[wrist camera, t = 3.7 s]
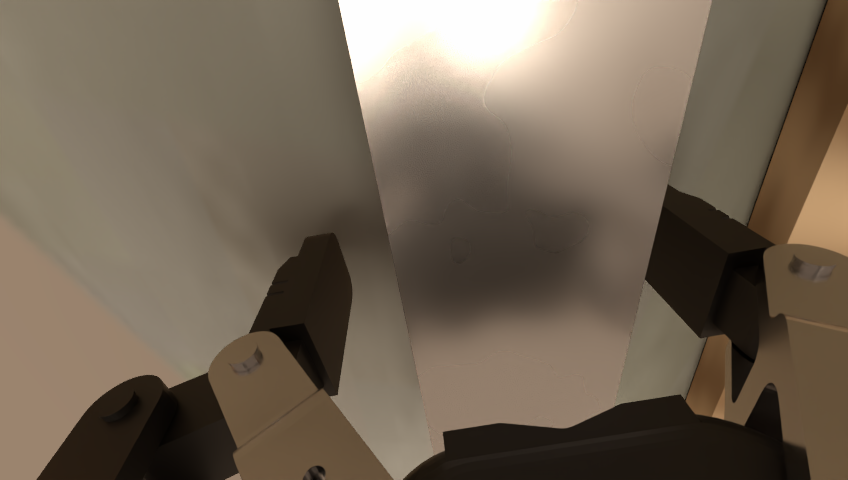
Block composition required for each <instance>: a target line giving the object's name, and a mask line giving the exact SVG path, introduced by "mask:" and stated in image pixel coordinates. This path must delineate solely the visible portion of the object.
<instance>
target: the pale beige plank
mask: <svg viewBox="0 0 848 480" xmlns="http://www.w3.org/2000/svg"><path fill="white" fill-rule="evenodd" d="M338 1H339V6H340V10H341V15H342V20H343V24H344V29H345V34H346V39H347V43H348V48H349V53H350V58H351V62H352V67H353V72H354V77H355V81H356V86H357V91H358V96H359V100H360V105H361V110H362V115H363V119H364V124H365V129H366V134H367V138H368V143H369V148H370V153H371V157H372V162H373V167H374V172H375V176H376V181H377V186H378V191H379V195H380V200H381V205H382V209H383V214H384V219H385V224H386V228H387V233H388V238H389V243H390V247H391V252H392V257H393V262H394V266H395V271H396V276H397V281H398V285H399V290H400V295H401V300H402V304H403V309H404V314H405V319H406V323H407V328H408V333H409V338H410V342H411V347H412V352H413V357H414V361H415V366H416V371H417V376H418V380H419V385H420V390H421V395H422V399H423V404H424V409H425V413H426V418H427V423H428V428H429V432H430V437H431V442H432V447H433V451H434V455H436V454H438V453H440V452H442V451H444V450H445V449H444V440H443V432H444V431H450V430H457V429H463V428H470V427H476V426H482V425H489V424H495V423H509V424H519V425H530V426H541V427H552V428H569V427H572V426H574V425H576V424H578V423H581V422H583V421H585V420H587V419H589V418H591V417H594V416H596V415H598V414H600V413H602V412H604V411H607V410H609V409H611V408H613V407H614V404H615V400H616V396H617V392H618V387H619V383H620V379H621V375H622V371H623V367H624V363H625V358H626V354H627V350H628V346H629V342H630V338H631V334H632V329H633V325H634V321H635V317H636V313H637V309H638V305H639V300H640V296H641V292H642V288H643V284H644V280H645V276H646V272H647V267H648V263H649V259H650V255H651V251H652V247H653V243H654V238H655V234H656V230H657V226H658V222H659V218H660V214H661V209H662V205H663V201H664V197H665V193H666V189H667V185H668V180H669V176H670V172H671V168H672V164H673V160H674V156H675V152H676V147H677V143H678V139H679V135H680V131H681V127H682V123H683V118H684V114H685V110H686V106H687V102H688V98H689V94H690V89H691V85H692V81H693V77H694V73H695V69H696V65H697V60H698V56H699V52H700V48H701V44H702V40H703V36H704V32H705V27H706V23H707V19H708V15H709V11H710V7H711V3H712V0H338Z"/></svg>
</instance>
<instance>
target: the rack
mask: <svg viewBox="0 0 848 480" xmlns="http://www.w3.org/2000/svg"><path fill="white" fill-rule="evenodd" d="M747 228H749V229H751V230H752V231H754V232H756V233H757V234H759V235H761V236H762V237H764V238H765V239H767V240H769V241H770V242H772V243H774V244H775V245H780V244H805V245H812V246H817V247H821V248H825V249H828V250H832V251H835V252H837V253H840V254H842V255H844V256H847V257H848V0H828V2H827V5H826V8H825V11H824V13H823V16H822V19H821V22H820V25H819V27H818V30H817V33H816V36H815V39H814V41H813V44H812V47H811V50H810V53H809V55H808V58H807V61H806V64H805V67H804V70H803V72H802V75H801V78H800V81H799V84H798V86H797V89H796V92H795V95H794V98H793V100H792V103H791V106H790V109H789V112H788V115H787V117H786V120H785V123H784V126H783V129H782V131H781V134H780V137H779V140H778V143H777V145H776V148H775V151H774V154H773V157H772V159H771V162H770V165H769V168H768V171H767V174H766V176H765V179H764V182H763V185H762V188H761V190H760V193H759V196H758V199H757V202H756V204H755V207H754V210H753V213H752V216H751V218H750V221H749V224H748V227H747ZM728 341H729V338H728V337H727V336H726V335H725V334H723V335H717V336H711V337H708V339H707V342H706V345H705V348H704V351H703V353H702V356H701V359H700V362H699V365H698V367H697V370H696V373H695V376H694V379H693V381H692V384H691V387H690V390H689V393H688V396H687V398H686V403H687V404H688V405H689V407H690V408H691V409H692V411H693V412H694V413H695V414H699V415H705V416H710V417H716V418H720V419H723V420H724V412H725V350H726V346H727V344H728Z"/></svg>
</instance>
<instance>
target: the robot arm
mask: <svg viewBox="0 0 848 480" xmlns="http://www.w3.org/2000/svg"><path fill="white" fill-rule="evenodd" d="M645 280H646V281H647V282H648V283H649V284H650V285H651V286H652V287H653V288H654V289H655V290H656V292H657V293H658V294H659V295H660V296H661V297H662V298H663V299H664V300H665V301H666V302H667V303H668V304H669V305H670V307H671V308H672V309H673V310H674V311H675V312H676V313H677V314H678V315H679V316H680V317H681V318H682V319H683V320H684V322H685V323H686V324H687V325H688V326H689V327H690V328H691V329H692V330H693V331H694V332H695V333H696V334H697V336H698V337H699V338H704V337H711V336H717V335H723V334H725V335H726V336H727V337H728V338H729V341H728V344H727V346H726V350H725V412H724V420H723V419H720V418H716V417H710V416H705V415H699V414H695V413H694V412H693V411H692V409H691V408H690V407H689V405H688V404H687V403H686V401H685V400H684V399H683V397H682V396H681V395H674V396H668V397H661V398H655V399H649V400H642V401H636V402H629V403H623V404H620V405H617V406H615V407H613V408H611V409H609V410H607V411H604V412H602V413H600V414H598V415H596V416H594V417H591V418H589V419H587V420H585V421H583V422H581V423H578V424H576V425H574V426H572V427H569V428H552V427H541V426H530V425H519V424H509V423H495V424H489V425H482V426H476V427H470V428H463V429H457V430H450V431H444V432H443V440H444V449H445V450H444V451H442V452H440V453H438V454H436V455H434V456H432V457H431V458H429V459H427V460H426V461H424V462H423V463H421V464H420V465H419V466H417V467H416V468H415V469H414V470H413V471H411V472H410V473H409V474H408V475H407V476H406V477H405V478H404V479H403V480H848V257H847V256H844V255H842V254H840V253H837V252H835V251H832V250H828V249H825V248H821V247H817V246H812V245H805V244H780V245H775V244H774V243H772V242H770V241H769V240H767V239H765V238H764V237H762V236H761V235H759V234H757V233H756V232H754V231H752V230H751V229H749V228H747V227H746V226H744V225H743V224H741V223H739V222H738V221H736V220H734V219H733V218H732V219H730V218H729V216H728V215H726V214H725V213H723V212H721V211H720V210H716V208H715V207H713V206H712V205H710V204H708V203H707V202H705V201H703V200H702V199H700V198H698V197H694V196H691V195H688V194H685V193H682V192H679V191H678V190H676V189H674V188H673V187H671V186H670V185H667V189H666V193H665V197H664V201H663V205H662V209H661V214H660V218H659V222H658V226H657V230H656V234H655V238H654V243H653V247H652V251H651V255H650V259H649V263H648V267H647V272H646V276H645ZM351 303H352V284H351V279H350V275H349V272H348V269H347V266H346V263H345V260H344V257H343V255H342V252H341V249H340V246H339V243H338V240H337V238H336V236H335V234H334V233H327V234H321V235H316V236H310V237H306V238H305V240H304V242H303V245H302V247H301V250H300V252H299V255H298V256H296V257H290V258H289V259H288V260H287V261H286V262H285V263H284V264H283V265H282V266H281V267H280V268H279V269H278V271H277V273H276V275H275V277H274V280H273V282H272V285H271V286H270V288H269V291H268V293H267V297H265V299H264V302H263V304H262V306H261V308H260V310H259V312H258V315H257V317H256V319H255V321H254V323H253V326H252V328H251V330H250V332H249V334H247V335H244V336H242V337H240V338H238V339H236V340H234V341H233V342H231V343H230V344H228V345H227V346H226V347H225V348H223V349H222V350H221V351H220V352H219V353H218V355H217V356H216V357H215V358H214V360H213V361H212V363H211V365H210V367H209V371H208V373H206V374H203V375H201V376H198V377H196V378H193V379H191V380H189V381H186V382H184V383H181V384H179V385H176V386H174V387H172V388H169V389H168V387H167V386H166V385H165V384H164V383H163V381H162V380H161V379H160V378H159V377H157V376H154V375H144V376H139V377H135V378H132V379H130V380H127V381H125V382H123V383H121V384H119V385H117V386H116V387H114V388H112V389H111V390H109V391H108V392H106V393H105V394H104V395H103V396H101V397H100V398H99V399H98V400H97V401H95V402H94V403H93V404H92V406H90V407H89V408H88V410H87V411H86V412H85V413H84V415H83V416H82V417H81V419H80V420H79V421H78V423H77V424H76V426H75V427H74V428H73V430H72V431H71V433H70V434H69V435H68V437H67V438H66V439H65V441H64V442H63V444H62V445H61V446H60V448H59V449H58V451H57V452H56V453H55V455H54V456H53V458H52V459H51V460H50V462H49V463H48V464H47V466H46V467H45V469H44V470H43V471H42V473H41V474H40V476H39V477H38V478H37V480H225V479H227V478H229V477H231V476H233V475H235V474H237V473H239V474H240V476H241V479H242V480H393V478H392V477H391V476H390V474H389V473H388V472H387V470H386V469H385V468H384V467H383V465H382V464H381V463H380V461H379V460H378V459H377V458H376V456H375V455H374V454H373V452H372V451H371V450H370V448H369V447H368V446H367V445H366V443H365V442H364V441H363V439H362V438H361V437H360V435H359V434H358V433H357V432H356V430H355V429H354V428H353V426H352V425H351V424H350V423H349V421H348V420H347V419H346V417H345V416H344V415H343V413H342V412H341V411H340V410H339V408H338V407H337V406H336V404H335V403H334V402H333V401H332V399H331V398H330V397H329V396H335V395H338V388H339V381H340V375H341V368H342V362H343V355H344V349H345V342H346V335H347V329H348V322H349V316H350V309H351Z"/></svg>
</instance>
